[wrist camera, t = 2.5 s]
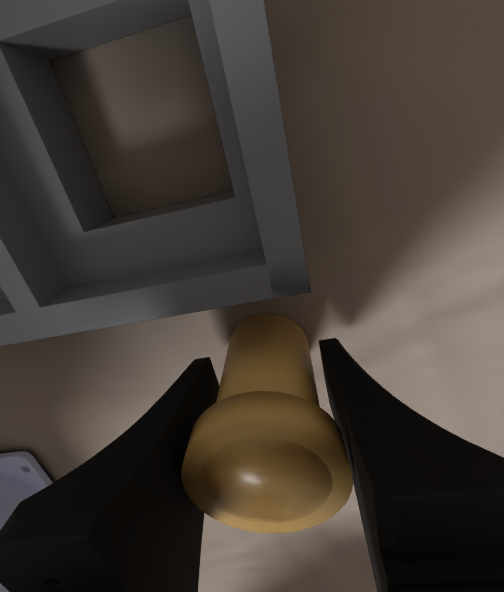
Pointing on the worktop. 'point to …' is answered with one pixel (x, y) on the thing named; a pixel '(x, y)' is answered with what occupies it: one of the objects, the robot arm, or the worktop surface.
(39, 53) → the housing
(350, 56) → the worktop surface
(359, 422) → the robot arm
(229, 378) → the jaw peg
